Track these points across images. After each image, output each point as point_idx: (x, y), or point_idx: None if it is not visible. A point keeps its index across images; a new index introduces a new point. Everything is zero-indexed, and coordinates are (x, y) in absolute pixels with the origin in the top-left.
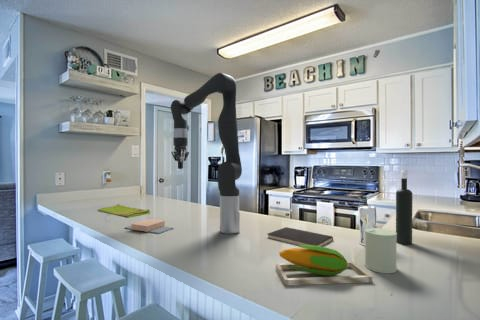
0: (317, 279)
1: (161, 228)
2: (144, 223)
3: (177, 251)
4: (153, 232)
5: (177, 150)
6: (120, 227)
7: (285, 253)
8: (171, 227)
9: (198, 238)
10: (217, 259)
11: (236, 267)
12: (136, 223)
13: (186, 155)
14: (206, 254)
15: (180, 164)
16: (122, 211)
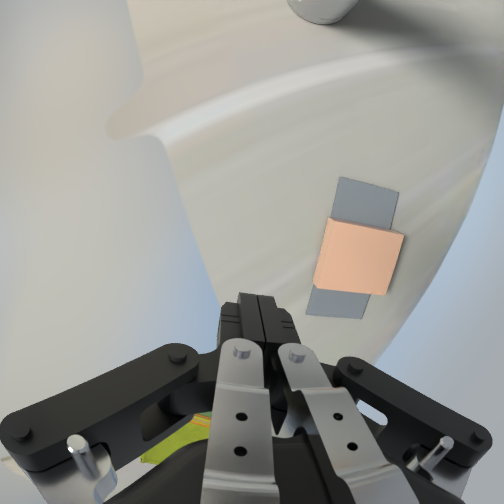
0: None
1: (357, 210)
2: (376, 264)
3: (475, 99)
4: (393, 212)
5: (450, 492)
6: (349, 334)
7: None
8: (339, 184)
9: (404, 70)
10: (475, 29)
11: (481, 8)
12: (379, 286)
13: (109, 410)
14: (468, 45)
15: (284, 331)
16: (186, 430)
